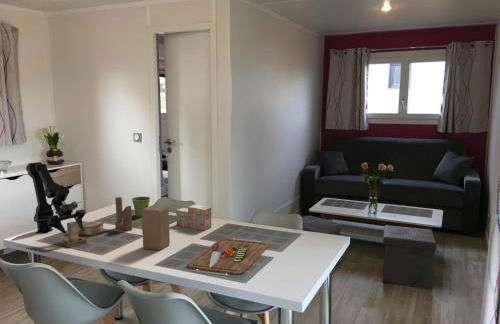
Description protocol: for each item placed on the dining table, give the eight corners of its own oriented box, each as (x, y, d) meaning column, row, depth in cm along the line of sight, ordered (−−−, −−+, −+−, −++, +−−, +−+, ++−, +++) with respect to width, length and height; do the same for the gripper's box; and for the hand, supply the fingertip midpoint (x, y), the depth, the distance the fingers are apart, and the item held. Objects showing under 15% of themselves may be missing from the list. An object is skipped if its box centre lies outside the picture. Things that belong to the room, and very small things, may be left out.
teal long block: (68, 243, 213) (66, 223, 211) (74, 242, 216) (73, 221, 214) (72, 245, 211) (70, 224, 209) (78, 243, 214) (77, 222, 212)
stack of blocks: (176, 225, 245) (175, 204, 244) (183, 222, 251) (182, 202, 249) (205, 230, 234) (204, 209, 232) (211, 228, 239) (211, 207, 238)
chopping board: (240, 279, 170) (240, 271, 169) (181, 270, 179) (181, 264, 178) (271, 244, 212) (271, 238, 211) (222, 239, 221) (222, 233, 220)
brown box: (71, 234, 229) (70, 226, 228) (82, 228, 239) (81, 221, 238) (93, 235, 226) (93, 227, 226) (104, 230, 236) (103, 222, 236)
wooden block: (170, 244, 211) (169, 206, 208) (160, 251, 201) (158, 210, 199) (153, 242, 214) (151, 204, 211) (142, 249, 205) (140, 209, 202)
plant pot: (128, 217, 262) (128, 200, 260) (137, 213, 274) (136, 196, 272) (146, 218, 260) (146, 200, 258) (154, 213, 272) (153, 196, 270)
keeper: (61, 244, 212) (61, 240, 212) (77, 240, 219) (77, 236, 219) (70, 247, 207) (70, 243, 207) (86, 243, 214) (86, 239, 214)
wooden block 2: (127, 231, 233) (125, 200, 231) (115, 228, 240) (113, 197, 237) (132, 229, 236) (131, 198, 234) (120, 226, 243) (119, 196, 240)
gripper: (48, 200, 205) (61, 226, 200) (82, 194, 220) (96, 217, 215) (41, 214, 211) (54, 239, 206) (75, 206, 226) (88, 229, 221)
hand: (74, 230), depth 212 cm, fingers open, 9 cm apart
